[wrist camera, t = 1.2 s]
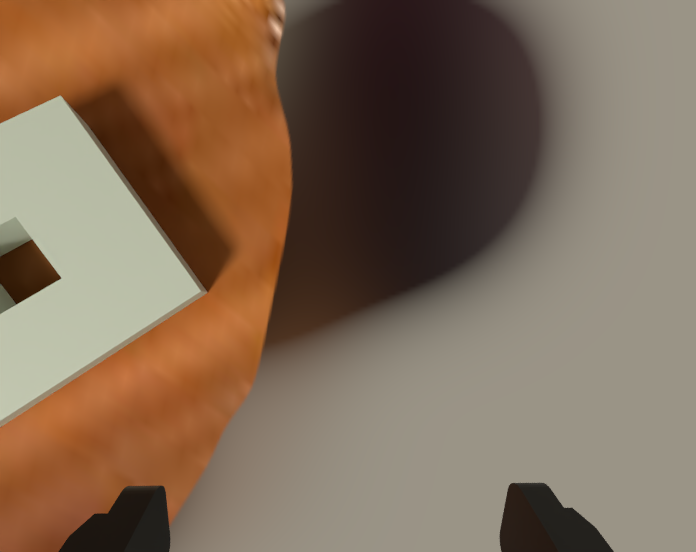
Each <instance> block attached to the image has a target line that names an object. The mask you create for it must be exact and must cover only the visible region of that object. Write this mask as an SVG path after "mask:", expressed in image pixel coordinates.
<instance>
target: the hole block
mask: <svg viewBox="0 0 696 552" xmlns="http://www.w3.org/2000/svg"><path fill="white" fill-rule="evenodd" d="M32 239H33V241H34V242H35V243H36V245H37V246H38V247H39V249H40V250H41V251H42V253H43V254H44V255H45V257H46V258H47V259H48V261H49V262H50V263H51V265H52V266H53V267H54V269H55V270H56V271H57V273H58V274H59V275H60V277H61V279H60V280H58V281H56V282H55V283H53V284H51V285H49V286H48V287H46V288H44V289H43V290H41V291H39V292H37V293H36V294H34V295H32V296H31V297H29V298H27V299H25V300H24V301H22V302H20V303H18V304H16V303H15V302H14V300H13V299H12V298H11V297H10V295H9V294H8V293H7V291H6V290H5V289H4V287H3V286H2V285H1V284H0V427H2V426H3V425H5V424H6V423H8V422H9V421H11V420H12V419H14V418H15V417H17V416H19V415H20V414H22V413H23V412H25V411H26V410H28V409H29V408H31V407H32V406H34V405H35V404H37V403H39V402H40V401H42V400H43V399H45V398H46V397H48V396H49V395H51V394H52V393H54V392H55V391H57V390H59V389H60V388H62V387H63V386H65V385H66V384H68V383H69V382H71V381H72V380H74V379H76V378H77V377H79V376H80V375H82V374H83V373H85V372H86V371H88V370H89V369H91V368H92V367H94V366H96V365H97V364H99V363H100V362H102V361H103V360H105V359H106V358H108V357H109V356H111V355H112V354H114V353H116V352H117V351H119V350H120V349H122V348H123V347H125V346H126V345H128V344H129V343H131V342H132V341H134V340H136V339H137V338H139V337H140V336H142V335H143V334H145V333H146V332H148V331H149V330H151V329H152V328H154V327H156V326H157V325H159V324H160V323H162V322H163V321H165V320H166V319H168V318H169V317H171V316H172V315H174V314H176V313H177V312H179V311H180V310H182V309H183V308H185V307H186V306H188V305H189V304H191V303H192V302H194V301H196V300H197V299H199V298H200V297H202V296H203V295H205V294H206V293H208V292H207V291H206V289H205V288H204V287H203V285H202V284H201V282H200V281H199V280H198V278H197V277H196V276H195V274H194V273H193V271H192V270H191V269H190V267H189V266H188V264H187V263H186V262H185V260H184V259H183V257H182V256H181V255H180V253H179V252H178V250H177V249H176V248H175V246H174V245H173V243H172V242H171V241H170V239H169V238H168V236H167V235H166V234H165V232H164V231H163V229H162V228H161V227H160V225H159V224H158V222H157V221H156V220H155V218H154V217H153V215H152V214H151V213H150V211H149V210H148V208H147V207H146V206H145V204H144V203H143V202H142V200H141V199H140V197H139V196H138V195H137V193H136V192H135V190H134V189H133V188H132V186H131V185H130V183H129V182H128V181H127V179H126V178H125V176H124V175H123V174H122V172H121V171H120V169H119V168H118V167H117V165H116V164H115V162H114V161H113V160H112V158H111V157H110V155H109V154H108V153H107V151H106V150H105V148H104V147H103V146H102V144H101V143H100V141H99V140H98V139H97V137H96V136H95V134H94V133H93V132H92V130H91V129H90V128H89V126H88V125H87V124H86V123H85V121H84V120H83V119H82V118H81V117H80V116H79V115H78V114H77V113H76V112H75V111H74V110H73V108H72V107H71V106H70V105H69V104H68V103H67V102H66V101H65V100H64V99H63V98H62V96H59V97H56V98H54V99H52V100H50V101H48V102H46V103H44V104H41V105H39V106H37V107H35V108H33V109H31V110H28V111H26V112H24V113H22V114H20V115H18V116H16V117H13V118H11V119H9V120H7V121H5V122H3V123H1V124H0V257H1V256H2V255H4V254H6V253H8V252H10V251H12V250H13V249H15V248H17V247H19V246H21V245H22V244H24V243H26V242H28V241H30V240H32Z"/></svg>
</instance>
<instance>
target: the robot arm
mask: <svg viewBox="0 0 696 552" xmlns="http://www.w3.org/2000/svg"><path fill="white" fill-rule="evenodd" d="M500 546H501V551H502V552H613V550H612V549H611V548H610V546H609V545H608V543H607V542H606V541H605V539H604V538H603V537H602V535H601V534H600V533H599V531H598V530H597V529H596V528H595V527H594V526H593V525H592V524H591V523H590V522H588V521H587V520H586V519H585V518H584V517H582V516H581V515H580V514H579V513H577V512H576V511H575V510H574V509H573V508H564V507H563V506H562V505H561V503H560V502H559V501H558V499H557V498H556V496H555V495H554V493H553V492H552V491H551V489H550V488H549V487H548V486H547V485H546V484H544V483H512V484H510V485H509V488H508V492H507V497H506V502H505V508H504V513H503V519H502V524H501V530H500ZM169 549H170V530H169V521H168V511H167V501H166V492H165V488H164V487H163V486H127V487H126V488H124V489H123V491H122V492H121V493H120V495H119V497H118V498H117V500H116V501H115V503H114V505H113V506H112V508H111V509H110V511H109V513H108V514H94V515H93V516H92V517H91V518H89V519H88V520H87V521H86V522H85V523H84V524H83V525H81V526H80V527H79V528H78V529H77V530H76V531H75V532H74V533H72V534H71V535H70V536H69V537H68V539H67V540H66V542H65V543H64V545H63V546H62V548H61V549H60V550H59V552H169Z"/></svg>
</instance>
